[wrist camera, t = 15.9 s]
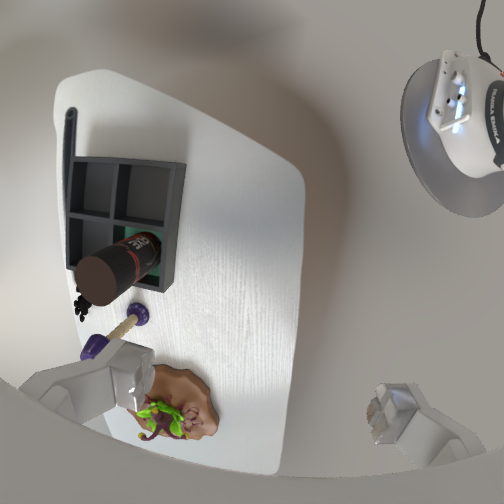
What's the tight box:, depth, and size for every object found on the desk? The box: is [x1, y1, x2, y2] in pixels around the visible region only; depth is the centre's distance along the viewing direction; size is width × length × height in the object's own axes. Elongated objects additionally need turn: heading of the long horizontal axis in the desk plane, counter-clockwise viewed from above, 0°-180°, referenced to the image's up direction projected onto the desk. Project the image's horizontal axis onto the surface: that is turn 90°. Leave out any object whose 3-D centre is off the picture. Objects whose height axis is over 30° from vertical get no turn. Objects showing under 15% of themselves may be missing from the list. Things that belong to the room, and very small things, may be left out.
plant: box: [127, 365, 219, 441], centre depth 46 cm, size 20×20×11 cm
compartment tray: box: [66, 156, 186, 293], centre depth 41 cm, size 18×18×5 cm
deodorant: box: [75, 231, 162, 306], centre depth 36 cm, size 6×6×15 cm
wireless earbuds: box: [74, 287, 92, 322], centre depth 45 cm, size 7×2×5 cm, turn 174°
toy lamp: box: [80, 303, 149, 361], centre depth 39 cm, size 5×5×17 cm
